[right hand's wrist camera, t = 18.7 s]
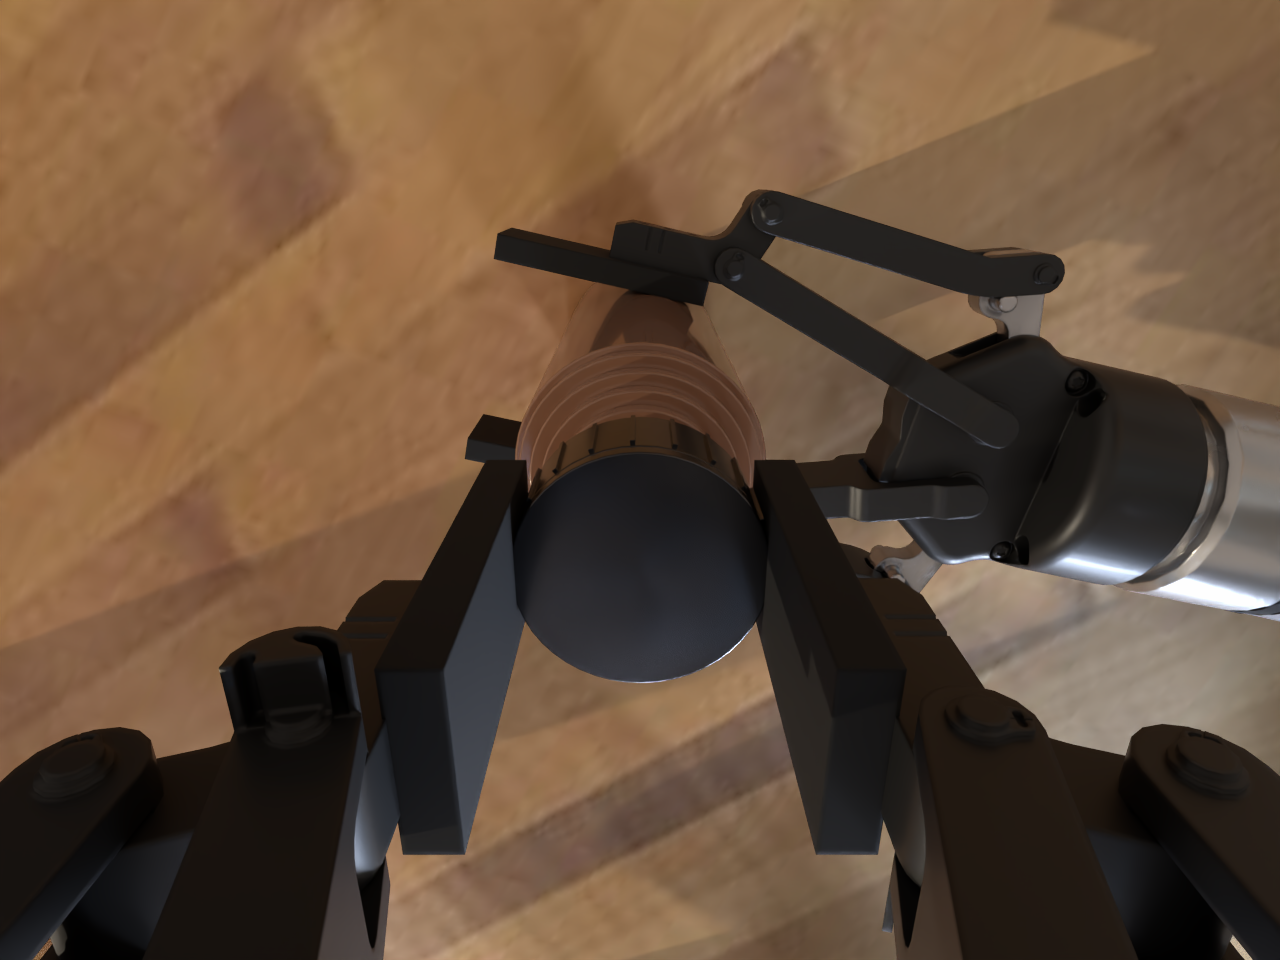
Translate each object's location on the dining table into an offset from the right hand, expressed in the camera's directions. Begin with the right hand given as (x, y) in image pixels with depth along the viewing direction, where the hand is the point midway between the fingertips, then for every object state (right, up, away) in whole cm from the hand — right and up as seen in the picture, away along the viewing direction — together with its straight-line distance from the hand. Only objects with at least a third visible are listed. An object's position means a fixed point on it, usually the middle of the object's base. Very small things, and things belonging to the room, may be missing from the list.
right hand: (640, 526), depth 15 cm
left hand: (-5, +5, +10) cm, 13 cm away
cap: (0, -1, -2) cm, 2 cm away
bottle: (0, +7, +17) cm, 18 cm away
